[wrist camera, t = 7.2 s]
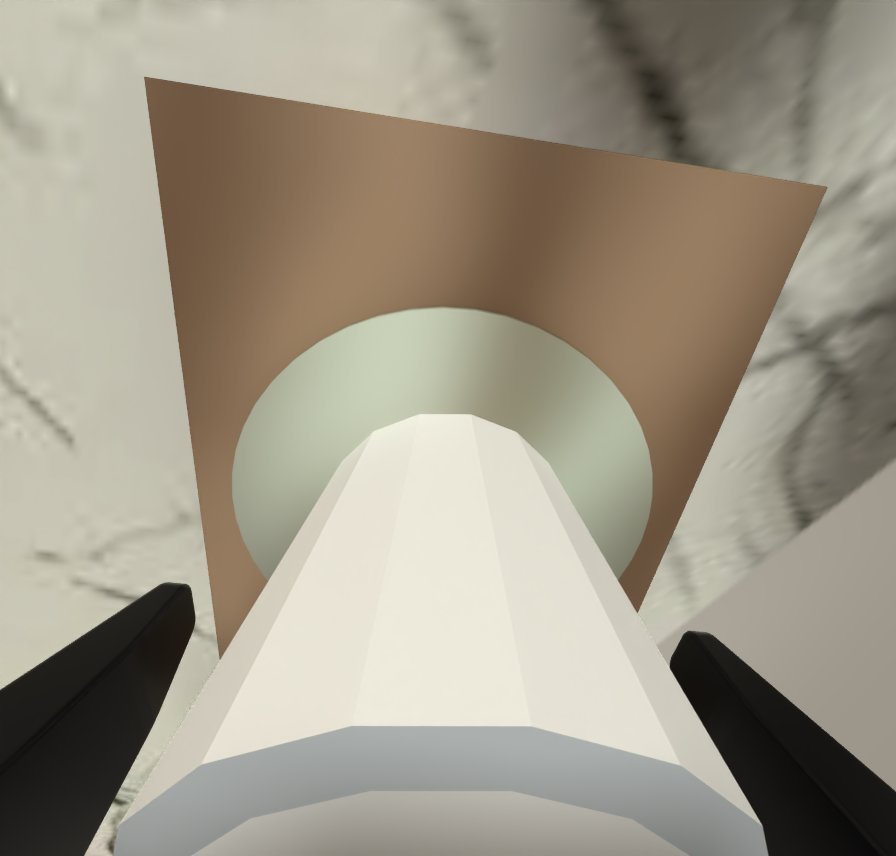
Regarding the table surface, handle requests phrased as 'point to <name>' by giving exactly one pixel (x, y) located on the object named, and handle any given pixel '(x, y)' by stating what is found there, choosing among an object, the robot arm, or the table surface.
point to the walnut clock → (450, 310)
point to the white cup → (442, 684)
